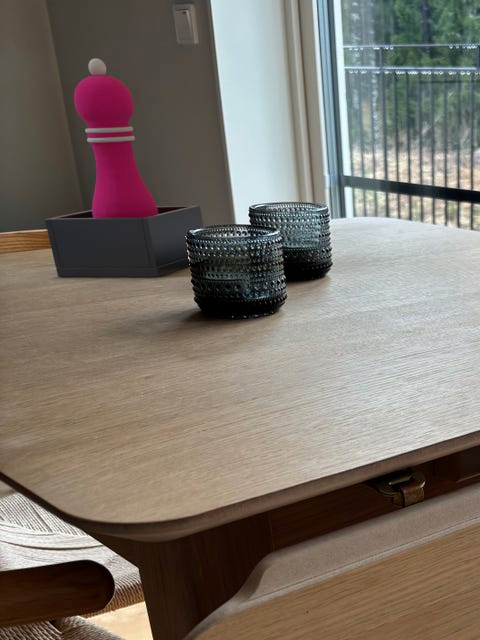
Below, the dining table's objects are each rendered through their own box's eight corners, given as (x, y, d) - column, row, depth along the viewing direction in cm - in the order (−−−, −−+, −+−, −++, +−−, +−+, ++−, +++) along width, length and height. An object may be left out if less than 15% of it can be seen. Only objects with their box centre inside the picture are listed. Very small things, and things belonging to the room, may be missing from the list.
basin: (57, 276, 110) (44, 219, 107) (116, 260, 120) (105, 207, 117) (158, 277, 107) (147, 218, 104) (208, 259, 118) (200, 205, 115)
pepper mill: (88, 263, 111) (44, 59, 101) (127, 253, 117) (89, 60, 107) (142, 264, 109) (102, 56, 99) (178, 254, 115) (144, 57, 105)
